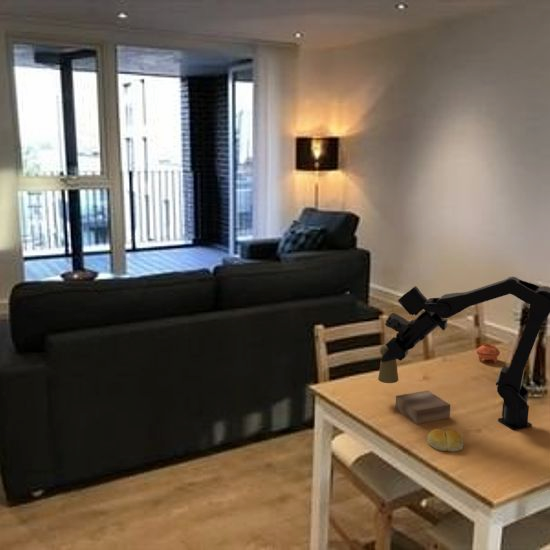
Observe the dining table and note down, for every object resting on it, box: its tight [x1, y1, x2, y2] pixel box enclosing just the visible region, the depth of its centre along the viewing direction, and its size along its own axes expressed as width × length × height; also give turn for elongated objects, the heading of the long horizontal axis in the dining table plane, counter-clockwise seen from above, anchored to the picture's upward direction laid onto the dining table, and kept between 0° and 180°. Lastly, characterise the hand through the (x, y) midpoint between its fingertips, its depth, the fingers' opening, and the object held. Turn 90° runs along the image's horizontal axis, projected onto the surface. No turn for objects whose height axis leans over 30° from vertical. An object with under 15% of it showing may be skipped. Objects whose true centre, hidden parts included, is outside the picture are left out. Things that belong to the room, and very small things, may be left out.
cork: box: [377, 343, 399, 384], centre depth 179 cm, size 6×6×11 cm
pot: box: [476, 343, 501, 364], centre depth 214 cm, size 8×8×7 cm
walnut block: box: [395, 390, 451, 425], centre depth 172 cm, size 11×11×4 cm
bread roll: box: [426, 428, 464, 453], centre depth 153 cm, size 8×9×4 cm
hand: (384, 358), depth 179 cm, fingers closed on cork, 5 cm apart
